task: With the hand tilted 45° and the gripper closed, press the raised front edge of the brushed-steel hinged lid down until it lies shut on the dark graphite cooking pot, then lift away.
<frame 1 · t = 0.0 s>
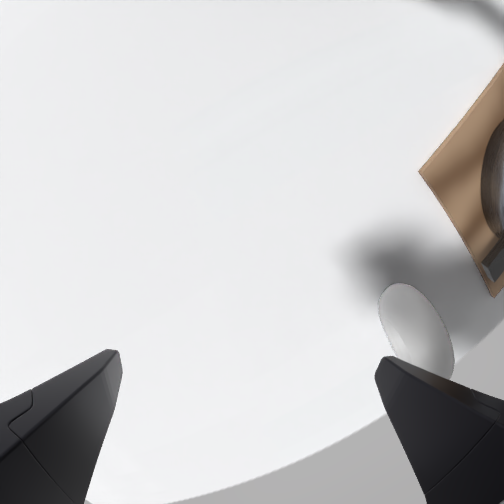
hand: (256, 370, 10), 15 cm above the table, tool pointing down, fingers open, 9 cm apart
donut: (389, 305, 28), on the table
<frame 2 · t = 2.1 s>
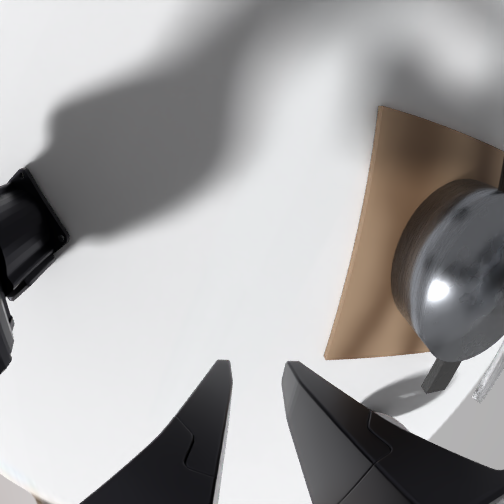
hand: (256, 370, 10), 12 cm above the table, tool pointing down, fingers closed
cooking pot: (475, 272, 20), on the walnut trivet, point 3 cm above the table
walnut trivet: (453, 255, 23), on the table
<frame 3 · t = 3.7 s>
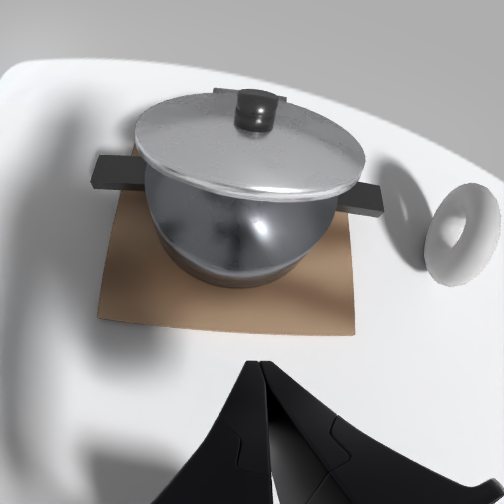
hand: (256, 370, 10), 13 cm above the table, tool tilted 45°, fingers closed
cooking pot: (239, 191, 23), on the walnut trivet, point 3 cm above the table
donut: (428, 253, 28), on the table
walnut trivet: (235, 211, 26), on the table
cooker lid: (254, 113, 18), point 10 cm above the table, hinge at 25.0°
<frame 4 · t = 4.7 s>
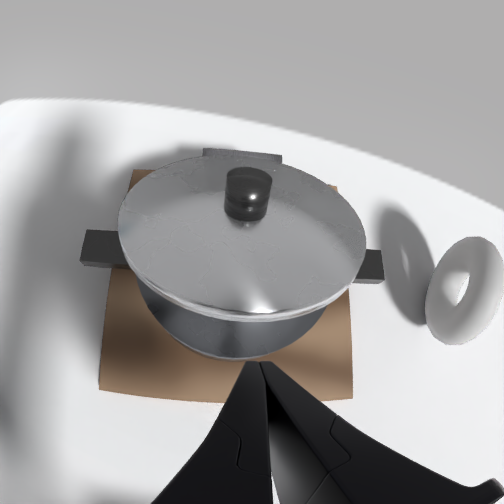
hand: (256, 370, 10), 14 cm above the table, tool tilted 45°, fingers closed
cooking pot: (234, 265, 23), on the walnut trivet, point 3 cm above the table
donut: (429, 305, 28), on the table
walnut trivet: (231, 278, 26), on the table
cooker lid: (246, 195, 17), point 10 cm above the table, hinge at 25.0°
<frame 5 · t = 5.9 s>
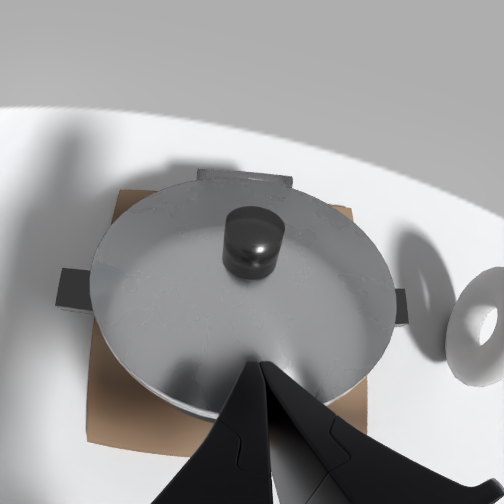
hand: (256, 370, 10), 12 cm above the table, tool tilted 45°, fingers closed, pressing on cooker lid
cooking pot: (236, 310, 19), on the walnut trivet, point 3 cm above the table
donut: (449, 338, 24), on the table
walnut trivet: (232, 320, 22), on the table
cooker lid: (250, 241, 14), point 10 cm above the table, hinge at 23.0°, touching gripper
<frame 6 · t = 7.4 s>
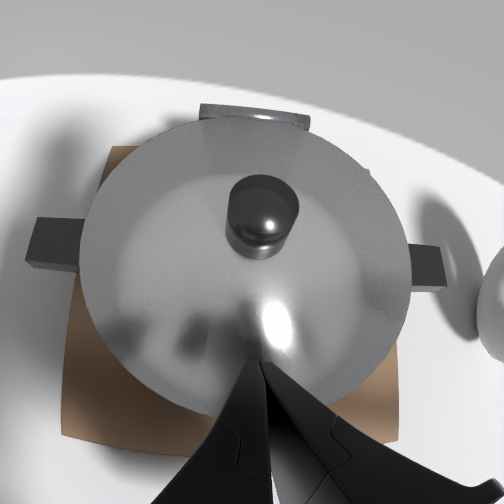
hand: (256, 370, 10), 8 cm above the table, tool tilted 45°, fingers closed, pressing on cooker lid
cooking pot: (244, 268, 16), on the walnut trivet, point 3 cm above the table
donut: (478, 315, 20), on the table
walnut trivet: (238, 287, 19), on the table
cooker lid: (258, 211, 12), point 8 cm above the table, hinge at 3.2°, touching gripper
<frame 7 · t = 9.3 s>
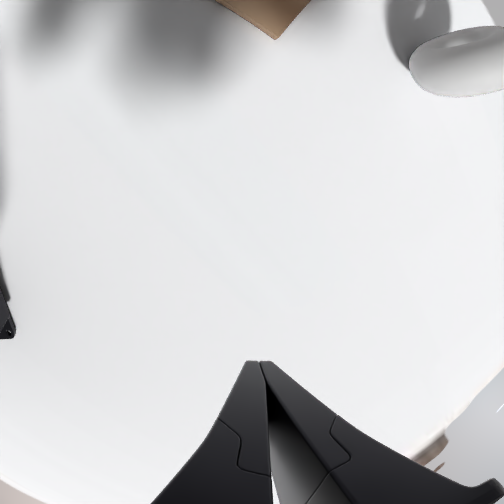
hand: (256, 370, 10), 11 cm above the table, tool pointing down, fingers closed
donut: (420, 61, 19), on the table
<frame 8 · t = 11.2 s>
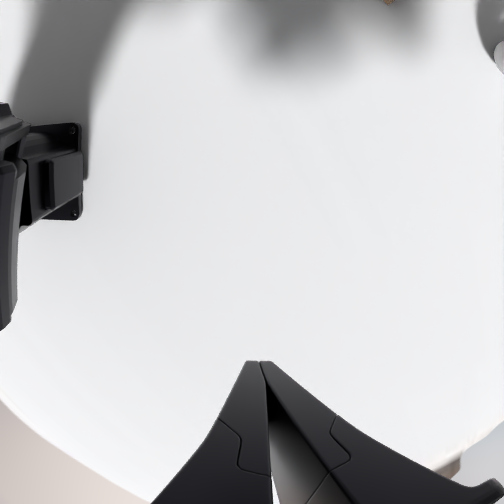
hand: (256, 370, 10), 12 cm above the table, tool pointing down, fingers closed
donut: (502, 57, 16), on the table
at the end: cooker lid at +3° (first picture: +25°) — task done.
